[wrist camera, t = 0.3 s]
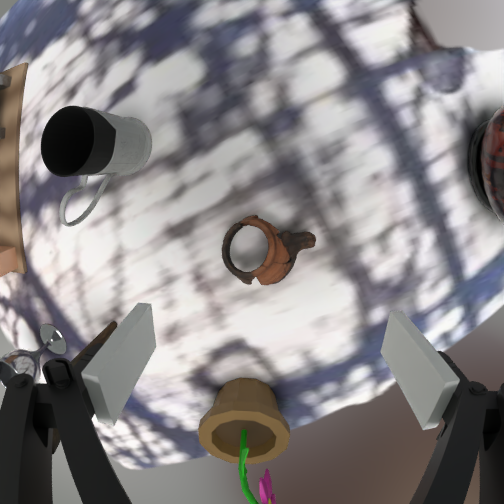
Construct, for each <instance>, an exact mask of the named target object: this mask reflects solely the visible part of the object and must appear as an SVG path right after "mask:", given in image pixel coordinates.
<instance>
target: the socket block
mask: <svg viewBox="0 0 504 504" xmlns="http://www.w3.org/2000/svg"><path fill="white" fill-rule="evenodd" d="M17 268H18V263H17V256H16V249H15V247H10V246H0V277H2V276H3V275H5V274H7V273H9V272H11V271H13V270H15V269H17Z"/></svg>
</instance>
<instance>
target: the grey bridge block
mask: <svg viewBox="0 0 504 504" xmlns="http://www.w3.org/2000/svg"><path fill="white" fill-rule="evenodd" d="M11 79H12V77H11V76H7V75H3V74H0V91H1V90H3V89H6V88H8V87H10V86H11ZM5 131H6V128H2V127H0V140H1V139H5Z"/></svg>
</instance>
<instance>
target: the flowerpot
mask: <svg viewBox="0 0 504 504" xmlns="http://www.w3.org/2000/svg"><path fill="white" fill-rule="evenodd" d="M198 430H199V442H200V444H201V445H202V446H203V447H204V448H205V449H206V450H207V451H208V452H209V453H210V454H211V455H213V456H215V457H217V458H220V459H222V460H225V461H228V462H230V463H239V468H238V469H239V475H240V480H241V486H242V491H243V493H244V494H245V496H246V498H247V499H248V501H249V502H250V504H258V502H257V501H256V499H255V498H254V496H253V494H252V493H251V491H250V490H249V487H248V482H247V477H246V473H247V469H246V467H245V464H256V463H260V462H264V461H268V460H272V459H274V458H275V457H277V456H278V455H279V454H281V453H282V452H283V451H284V450H286V449H287V446H288V442H289V437H290V428H289V425H288V423H287V422H286V420H285V419H284V417H283V416H282V414H281V413H280V412H279V410H278V406H277V401H276V397H275V394H274V393H273V391H272V390H271V388H270V387H269V385H267V384H265V383H263V382H261V381H259V380H257V379H251V378H238V379H235V380H232V381H229V382H227V383H226V384H225V385H224V386H223V387H222V388H221V389H220V391H219V392H218V395H217V397H216V400H215V402H214V405H213V407H212V408H211V409H210V410H209V411H208V412H207V413H206V414H205V415H204V416H203V418H202V419H201V420H200V424H199V428H198ZM260 496H261V500H262V503H263V504H276V499H275V494H272V482H271V478H270V474H269V470H268V469H266V471H265V476H264V479H263V478H260Z"/></svg>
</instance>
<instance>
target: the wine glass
mask: <svg viewBox="0 0 504 504" xmlns="http://www.w3.org/2000/svg"><path fill="white" fill-rule="evenodd" d="M39 334H40V338H41V341H42V342H43V344H44V346H42V347H41V348H40V349H38V350H36V351H28V350H24V349H16V350H13V351H10V352H9V353H7V354H5V355H4V356H3V357H2V358H0V382H1V383H2V385H3V386H4V387H5V388H7V385H8V382H9V380H10V379H11V378H12V377H13V376H15V375H17V374H21V373H26V374H29V375H31V376H32V377H33V379H34V381H35V383H38V381H39V379H40V375H41V369H40V356H41V355H42V353H43V352H44V351H45V349H46V348H47V349H48V350H49V351H50V352H52V353H54V354H56V355H62V354H64V353H65V352H66V348H67V346H66V341H65V339H64V337H63V335H62V334H61V332H60V331H59V330H58V329H57V328H55V327H54V326H52V325H50V324H43V325H42V326H41V327H40V331H39Z"/></svg>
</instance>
